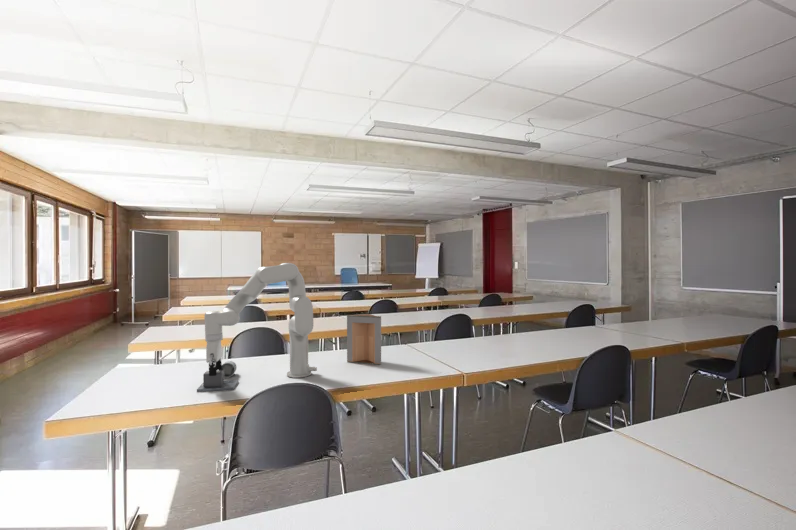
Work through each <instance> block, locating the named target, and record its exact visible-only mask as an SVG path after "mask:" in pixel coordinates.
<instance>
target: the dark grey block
mask: <svg viewBox="0 0 796 530" xmlns="http://www.w3.org/2000/svg"><path fill="white" fill-rule="evenodd" d="M202 376H203V382H202V383H203V387H209V386H222V385H223V383H224V381H225V378H224V370H217V375H216V376H209V370H206V371H205V372H204V373H203V375H202Z"/></svg>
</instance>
